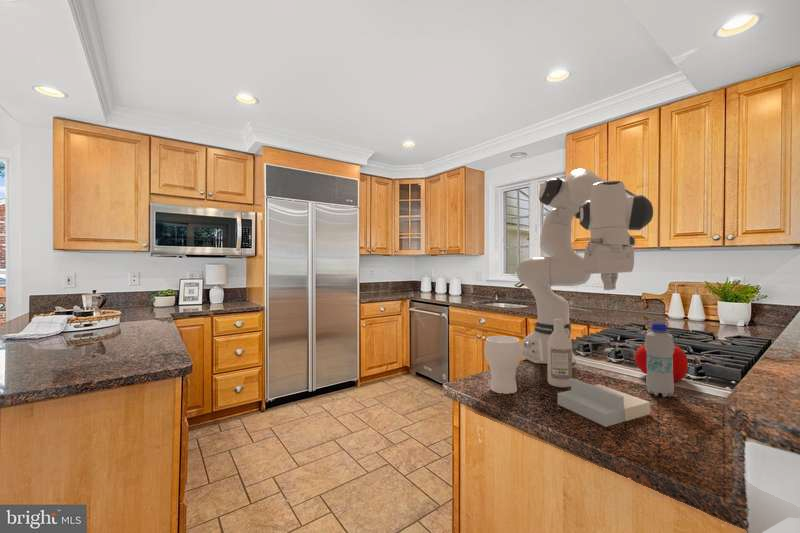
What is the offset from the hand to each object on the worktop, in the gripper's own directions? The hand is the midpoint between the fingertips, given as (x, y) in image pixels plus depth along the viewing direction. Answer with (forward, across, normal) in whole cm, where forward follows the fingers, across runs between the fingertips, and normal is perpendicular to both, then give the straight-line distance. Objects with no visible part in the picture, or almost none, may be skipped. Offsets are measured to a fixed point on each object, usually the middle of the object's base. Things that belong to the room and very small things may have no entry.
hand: (609, 289), depth 97 cm
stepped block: (+30, -14, -1) cm, 33 cm away
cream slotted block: (+30, -6, -3) cm, 31 cm away
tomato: (+29, +28, -2) cm, 41 cm away
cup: (+30, -18, +22) cm, 41 cm away
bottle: (+30, +13, -7) cm, 33 cm away
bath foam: (+30, -1, +15) cm, 33 cm away
